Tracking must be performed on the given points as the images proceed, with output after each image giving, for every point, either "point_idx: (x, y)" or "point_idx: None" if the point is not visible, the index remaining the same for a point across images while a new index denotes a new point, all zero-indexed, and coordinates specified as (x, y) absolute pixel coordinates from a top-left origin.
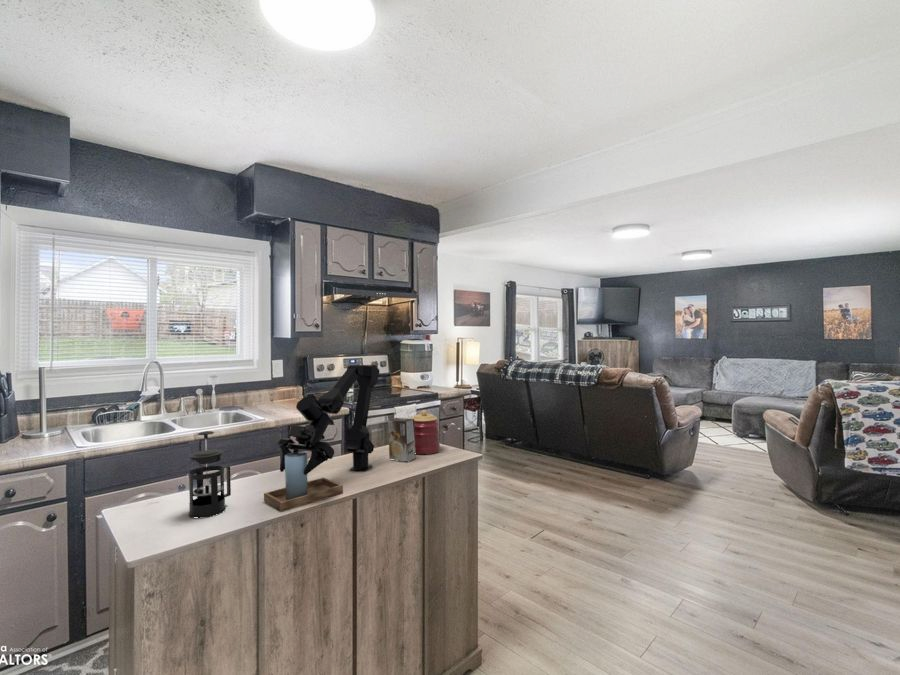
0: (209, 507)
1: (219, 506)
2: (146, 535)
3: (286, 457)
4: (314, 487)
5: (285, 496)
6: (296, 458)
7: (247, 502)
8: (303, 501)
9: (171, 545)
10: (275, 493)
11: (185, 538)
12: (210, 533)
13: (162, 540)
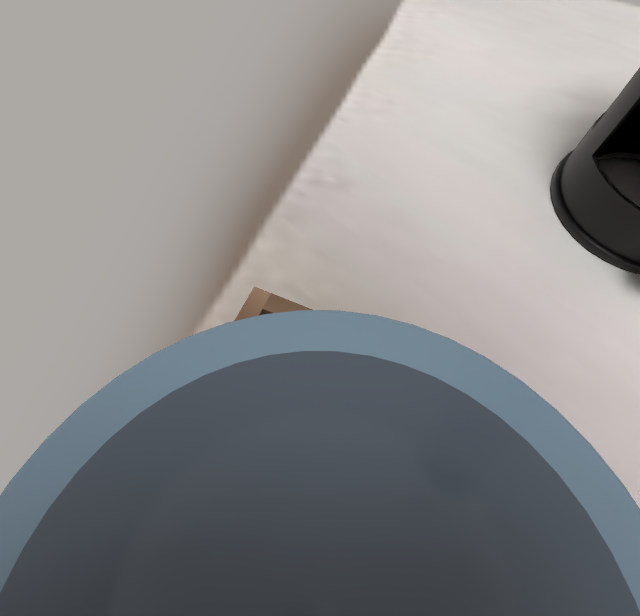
0: (585, 137)
1: (579, 182)
2: (579, 30)
3: (399, 323)
4: None
5: None
6: (122, 395)
7: (588, 365)
8: None
9: (423, 12)
10: None
11: (432, 44)
12: (387, 81)
13: (488, 23)
